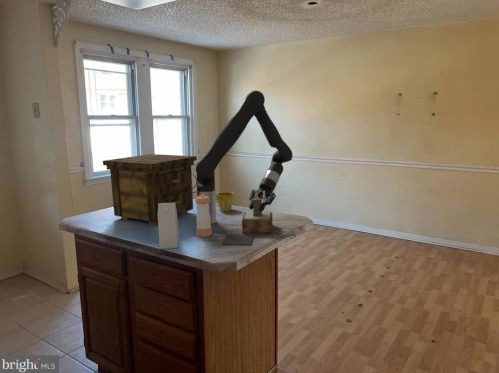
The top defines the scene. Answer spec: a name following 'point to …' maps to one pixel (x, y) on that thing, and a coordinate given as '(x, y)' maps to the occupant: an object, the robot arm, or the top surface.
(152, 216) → the crate
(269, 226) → the crate
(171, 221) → the milk carton
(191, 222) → the top surface
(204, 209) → the pepper shaker
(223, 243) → the mat
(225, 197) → the plant pot
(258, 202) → the lid
